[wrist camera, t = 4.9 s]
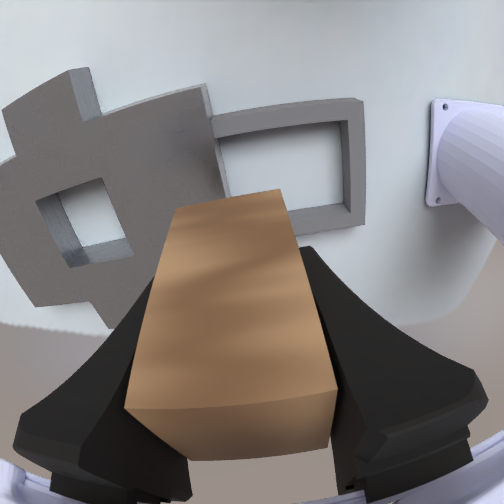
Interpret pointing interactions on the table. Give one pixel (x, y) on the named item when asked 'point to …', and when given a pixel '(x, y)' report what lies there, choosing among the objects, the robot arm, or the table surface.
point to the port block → (116, 182)
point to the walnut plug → (233, 338)
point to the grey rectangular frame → (352, 154)
